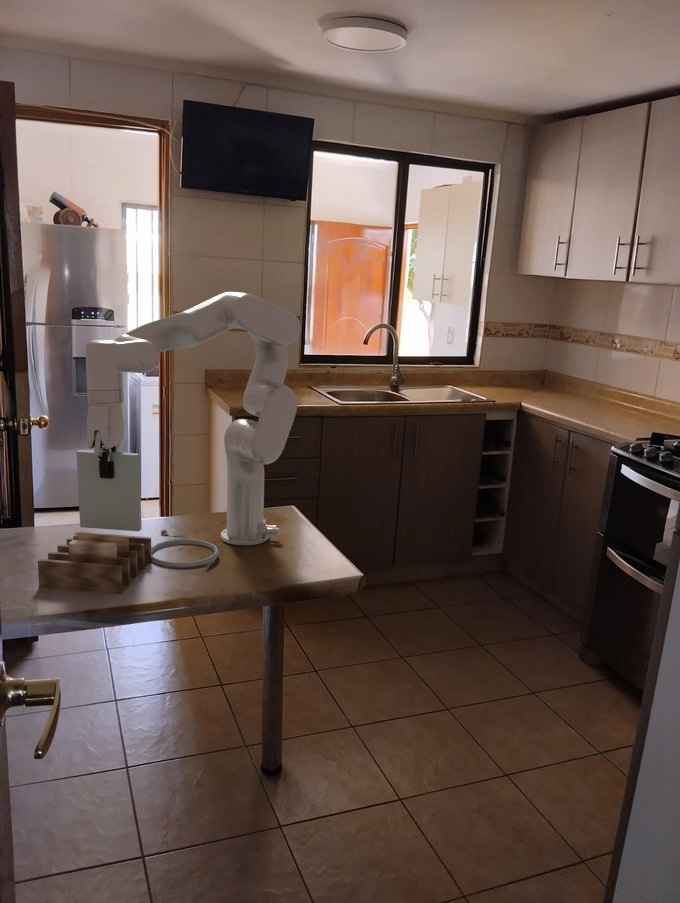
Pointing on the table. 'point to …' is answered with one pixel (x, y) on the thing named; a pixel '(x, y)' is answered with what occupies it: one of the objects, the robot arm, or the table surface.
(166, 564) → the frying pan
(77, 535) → the offcut dark
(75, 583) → the rack
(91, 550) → the offcut light
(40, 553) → the table surface
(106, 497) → the tall sheet
